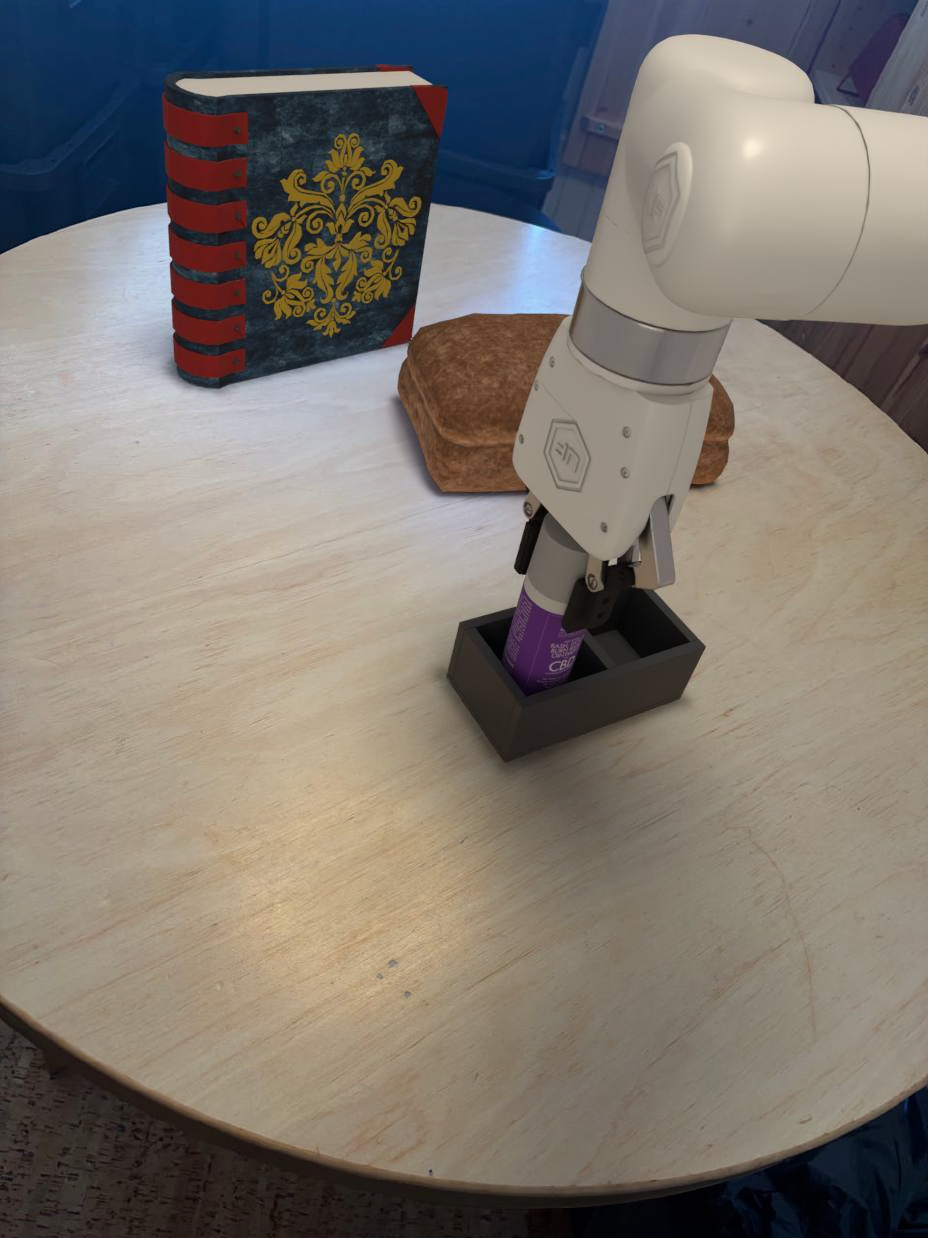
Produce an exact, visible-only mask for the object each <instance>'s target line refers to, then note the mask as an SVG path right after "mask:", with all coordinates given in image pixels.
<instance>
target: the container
mask: <svg viewBox="0 0 928 1238" xmlns="http://www.w3.org/2000/svg"><path fill="white" fill-rule="evenodd" d="M587 561H588V552H586V551H585V550H584V549H583V548H582V547H581V546H580V545H579V544H578V543H577V542H576V541H575V540H574V538H573V537H572V536H571V535H570V534H569V533H568V532H567V531H566V530H565V529H564V528H563V527H562V525H561V524H560V523H559V522H558V521H557V520H556V519H555V518H554V517H553V516H552V514H551V513H550V512H548V513H547V514H546V516H545V518H544V521H543V524H542V527H541V530H540V533H539V536H538V539H537V542H536V545H535V548H534V552H533V555H532V558H531V561H530V564H529V567H528V570H527V573H526V575H524V578H523V583H522V586H521V589H520V593H519V596H518V600H517V603H516V606H515V607H516V610H515V613H514V617H513V620H512V624H511V627H510V631H509V634H508V638H507V641H506V645H505V648H504V652H503V655H502V659H501V663H502V665H503V666H504V667H505V669H506V670H507V671H508V673H509V674H510V676H511V677H512V678H513V680H514V681H515V682H516V684H517V685H518V686H519V688H520V689H521V690H522V692H523V693H524V695H525V696H526V697H527V696H530V695H533V694H536V693H539V692H542V691H545V690H548V689H551V688H554V687H557V686H560V685H563V684H566V683H567V680H568V678H569V675H570V672H571V670H572V667H573V664H574V661H575V659H576V656H577V653H578V651H579V648H580V645H581V642H582V640H583V637H584V634H585V632H586V629H587V628H586V629H583V630H580V631H576V632H573V633H570V634H567V633H566V632H565V630H564V629H563V628H562V620H563V617H564V614H565V611H566V608H567V605H568V602H569V599H570V596H571V593H572V591H573V588H574V585H575V582H576V581H577V580H578V579H580V578H584V577H586V570H587ZM610 561H611V559H610V560H609V562H608V566H610Z"/></svg>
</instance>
